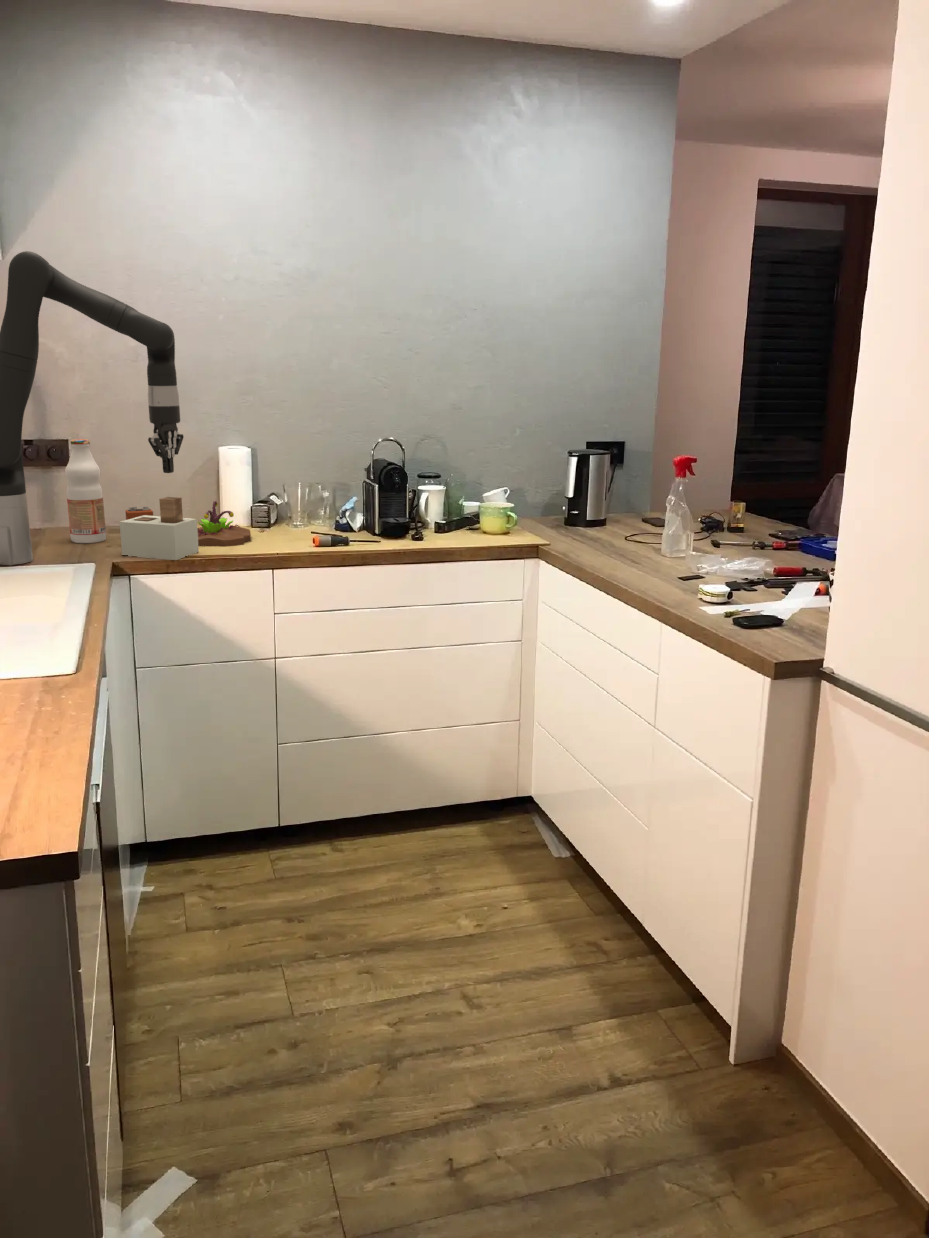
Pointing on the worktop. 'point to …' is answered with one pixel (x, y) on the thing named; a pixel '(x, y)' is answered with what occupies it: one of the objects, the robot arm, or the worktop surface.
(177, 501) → the peg
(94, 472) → the fruit juice
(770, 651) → the worktop surface
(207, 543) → the plant
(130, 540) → the socket block
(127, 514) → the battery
